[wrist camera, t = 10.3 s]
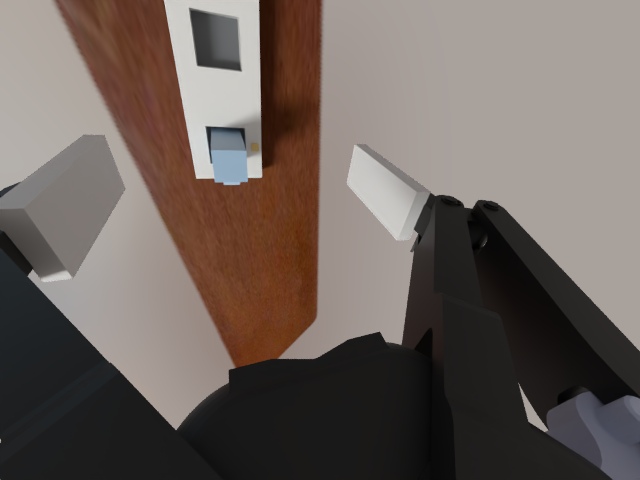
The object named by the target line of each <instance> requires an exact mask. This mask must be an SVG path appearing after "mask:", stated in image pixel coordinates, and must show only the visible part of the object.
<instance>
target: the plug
mask: <svg viewBox="0 0 640 480" xmlns="http://www.w3.org/2000/svg"><path fill="white" fill-rule="evenodd" d="M211 156H212V163H213V170H214V178H215V182H224V185H240V182H248V173H247V154H246V148H245V145H244V142H243V139H242V136H241V133H240V130H239V128H220V127H211Z"/></svg>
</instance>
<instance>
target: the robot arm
mask: <svg viewBox="0 0 640 480" xmlns="http://www.w3.org/2000/svg"><path fill="white" fill-rule="evenodd" d="M347 185H348V186H349V187H350V188H351V189H352V190H353V191H354V193H355V194H356V195H357V196H358V197H359V198H360V199H361V200H362V202H364V204H365V205H366V206H367V207H368V208H369V210H370V211H371V212H372V213H373V214H374V215H375V216H376V217H377V219H378V220H379V221H380V222H381V223H382V224H383V225H384V226H385V228H386V229H387V230H388V231H389V232H390V233H391V234H392V235H393V237H394V238H395V239H396V240H397V241H400V240H409V239H410V237H411V235H412V233H413V231H414V230H415V231H416V232H417V233H418V236H417V238H416V241H415V243H414V245H413V247H412V249H411V252H413V251H414V256H413V264H412V272H411V279H410V286H409V294H408V302H407V309H406V317H405V325H404V332H403V340H402V345H399V344H395V343H389V342H385V340H384V338H383V337H382V335H381V333H380V332H377V333H373V334H369V335H365V336H361V337H357V338H353V339H349V340H347V341H345V342H344V343H342V344H340V345H338V346H337V347H335V348H333V349H332V350H330V351H328V352H327V353H325V354H323V355H322V356H320V357H318V358H316V359H270V360H266V361H262V362H258V363H254V364H250V365H246V366H242V367H238V368H234V369H230V370H229V383H228V384H226V385H224V386H222V387H221V388H219V389H218V390H216V391H215V392H213V393H212V394H210V395H209V396H208V397H207V398H206V399H204V400H203V401H202V402H201V403H200V404H199V405H198V406H197V407H196V408H195V409H194V410H193V411H192V412H191V413H190V414H189V415H188V416H187V417H186V419H185V420H184V421H183V422H182V424H181V425H180V426H179V427H178V429H177V430H175V429H174V428H173V427H172V426H171V425H170V424H169V423H168V422H167V421H166V420H165V419H164V417H162V415H161V414H160V413H159V412H158V411H157V410H156V409H155V408H154V407H153V406H152V405H151V404H150V403H149V402H148V401H147V400H146V399H145V398H144V396H142V394H141V393H140V392H139V391H138V390H137V389H136V388H135V387H134V386H133V385H132V384H131V383H130V382H129V381H128V380H127V379H126V378H125V377H124V375H123V374H122V373H120V371H119V370H118V369H117V368H116V367H115V366H114V365H112V363H109V362H108V361H107V360H106V359H105V358H104V357H103V356H102V355H101V354H100V353H99V351H98V350H97V349H96V348H95V347H94V346H93V345H92V344H91V343H90V342H89V341H88V340H87V339H86V338H85V337H84V336H83V335H82V334H81V332H80V331H79V330H78V329H77V328H76V327H75V326H74V325H73V324H72V323H71V322H70V321H69V320H68V319H67V318H66V317H65V316H64V315H63V313H61V311H60V310H59V309H58V308H57V307H56V306H55V305H54V304H53V303H52V302H51V301H50V300H49V299H48V298H47V297H46V296H45V295H44V293H42V291H41V290H40V289H39V288H38V287H37V286H36V285H35V284H34V283H33V282H32V281H31V280H30V279H29V278H28V277H27V276H28V274H29V273H30V272H31V271H32V269H33V270H34V271H35V272H36V274H37V275H38V276H39V277H40V279H41V280H42V281H43V282H47V281H56V280H65V279H73V278H74V276H75V274H76V273H77V271H78V269H79V267H80V266H81V264H82V262H83V260H84V259H85V257H86V255H87V254H88V252H89V250H90V248H91V247H92V245H93V244H94V242H95V240H96V238H97V237H98V235H99V233H100V231H101V230H102V228H103V226H104V225H105V223H106V221H107V220H108V218H109V216H110V214H111V213H112V211H113V209H114V208H115V206H116V204H117V202H118V201H119V199H120V197H121V196H122V194H123V192H124V191H125V187H124V184H123V182H122V179H121V176H120V174H119V172H118V169H117V166H116V164H115V161H114V158H113V156H112V153H111V151H110V148H109V146H108V143H107V141H106V138H105V136H104V135H83V136H82V137H80V138H79V139H78V140H76V141H75V142H74V143H72V144H71V145H70V146H68V147H67V148H66V149H64V150H63V151H62V152H60V153H59V154H58V155H57V156H55V157H54V158H53V159H51V160H50V161H48V162H47V163H46V164H44V165H43V166H42V167H41V168H39V169H38V170H37V171H35V172H34V173H33V174H31V175H30V176H29V177H28V178H26V179H25V180H23V181H22V182H19V183H17V184H14V185H12V186H9V187H7V188H4V189H3V190H2V191H0V439H1V443H0V480H640V351H639V350H638V349H637V348H636V347H635V346H634V345H633V344H632V343H631V342H630V341H629V340H628V338H626V336H625V335H624V334H623V333H622V332H621V331H620V330H619V329H618V328H617V327H616V326H615V325H614V324H613V323H612V322H611V320H609V318H607V316H606V315H605V314H604V313H603V312H602V311H601V310H600V309H599V308H598V307H597V306H596V305H595V304H594V303H593V302H592V300H591V299H590V298H589V297H588V296H587V295H586V294H585V293H584V292H583V291H582V290H581V289H580V288H579V287H578V286H577V285H576V284H575V283H574V281H572V279H571V278H570V277H569V276H568V275H567V274H566V273H565V272H564V271H563V270H562V269H561V268H560V267H559V266H558V265H557V264H556V263H555V261H554V260H553V259H552V258H551V257H550V256H549V255H548V254H547V253H546V252H545V251H544V250H543V249H542V248H541V247H540V246H539V245H538V244H537V243H536V241H535V240H533V238H532V237H531V236H530V235H529V234H528V233H527V232H526V231H525V230H524V229H523V228H522V227H521V226H520V225H519V224H518V222H516V220H515V219H514V218H513V217H512V216H511V215H510V214H509V213H508V212H507V211H506V210H505V209H504V208H503V207H501V206H500V205H498V204H497V203H495V202H492V201H486V200H478V201H477V203H476V204H475V206H474V207H473V209H470V208H464V205H463V203H462V202H461V201H459V200H457V199H456V198H454V197H451V196H445V195H438V196H434V195H433V194H432V193H430V191H429V190H428V189H426V188H425V187H423V186H422V185H421V184H419V183H418V182H417V181H415V180H414V179H412V178H411V177H410V176H408V175H407V174H406V173H404V172H403V171H401V170H400V169H399V168H397V167H396V166H394V165H393V164H392V163H390V162H389V161H387V160H386V159H385V158H383V157H382V156H381V155H379V154H378V153H377V152H375V151H374V150H372V149H371V148H370V147H368V146H367V145H365V144H355V146H354V151H353V156H352V160H351V165H350V170H349V175H348V179H347ZM485 242H486V243H485ZM484 244H485V245H484ZM483 245H484V246H483ZM518 382H519V384H520V386H521V388H522V390H523V392H524V394H525V396H526V397H527V399H528V400H529V402H530V404H531V405H532V407H533V408H534V410H535V412H536V413H537V415H538V416H539V418H540V419H541V420H542V422H543V423H544V425H545V426H546V427H547V429H548V430H549V431H547V432H543V431H542V430H540V429H539V428H537V427H536V426H534V425H533V424H531V423H529V422H528V419H527V415H526V411H525V407H524V403H523V399H522V396H521V392H520V388H519V384H518Z"/></svg>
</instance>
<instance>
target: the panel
mask: <svg viewBox="0 0 640 480" xmlns="http://www.w3.org/2000/svg"><path fill="white" fill-rule="evenodd" d="M164 3H165V9H166V14H167V20H168V25H169V31H170V36H171V42H172V47H173V53H174V58H175V64H176V69H177V75H178V80H179V86H180V91H181V97H182V102H183V108H184V113H185V119H186V124H187V130H188V135H189V141H190V146H191V152H192V157H193V163H194V168H195V174H196V179H198V178H214V170H213V163H212V156H211V127H220V128H239V130H240V133H241V136H242V139H243V142H244V145H245V148H246V154H247V173H248V178H262V151H261V92H260V33H259V0H164Z"/></svg>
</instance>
